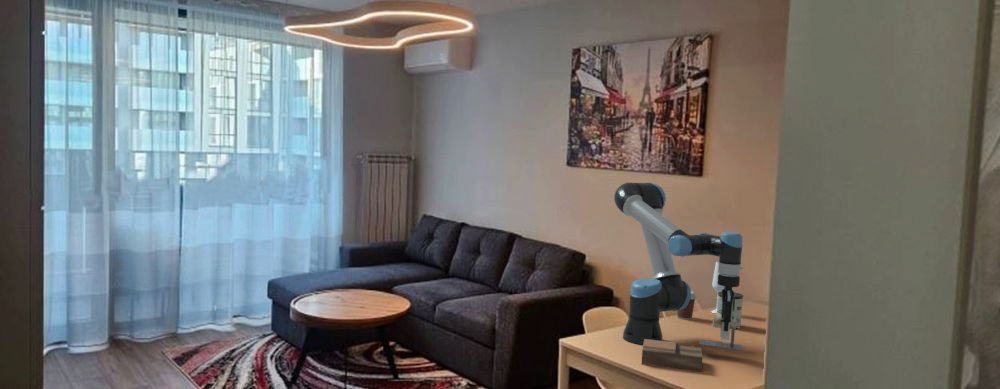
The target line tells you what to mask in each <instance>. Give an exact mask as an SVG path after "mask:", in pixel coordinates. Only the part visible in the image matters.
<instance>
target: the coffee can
mask: <svg viewBox="0 0 1000 389" xmlns="http://www.w3.org/2000/svg"><path fill="white" fill-rule="evenodd" d="M733 292H734V296H733V303H732V312H731V319H735V320H736V321H737V324H736V328H738V329H740V328H741V325H742V324H741V323H742V311H743V310H742V309H743V298H744V294H742V293H739V292H735V291H733ZM717 295H718V306H717V305H716V309H717V314H716V318H722V317H721V316H722V315H721V313H722V292H717Z"/></svg>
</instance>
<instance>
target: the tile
mask: <svg viewBox="0 0 1000 389" xmlns="http://www.w3.org/2000/svg"><path fill="white" fill-rule="evenodd" d="M676 344H677V342H673V341H665V340H662V341H658V340H650V339H644V343H643V344H642V350H643V349H647V350H655V351H663V352H672V353H676Z"/></svg>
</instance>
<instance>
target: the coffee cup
mask: <svg viewBox="0 0 1000 389" xmlns="http://www.w3.org/2000/svg"><path fill="white" fill-rule="evenodd" d="M696 299H697V296H696V294H695V292H694V291H693V290H691V299H690V301H689V304H688V305H687V306H686V307H685V308H683V309H680V310H676V312H677V313H676V317H677V318H678V319H679V320H686V321H691V320H692V318H693V315H694V314H693V313H694V307H695V300H696Z"/></svg>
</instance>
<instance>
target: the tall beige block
mask: <svg viewBox="0 0 1000 389" xmlns="http://www.w3.org/2000/svg"><path fill="white" fill-rule="evenodd" d="M721 320H723V318H717V316H715V317H714V316H713V317H712V327H713V328H719V329H721V328H722V322H721ZM736 324H737V321H736V320H735V319H731V322H730V332H731V333H730V343H728V342H720V341H710V340H700V339H699V340H698V344H699V346H702V347H710V348H711V347H712V348H720V349H727V350H728V349H729V350H737V351H743V350H744V349H743V346H742V344H737V343H735V335H736V334H735V332H736V331H735V330H737V329H736Z"/></svg>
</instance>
